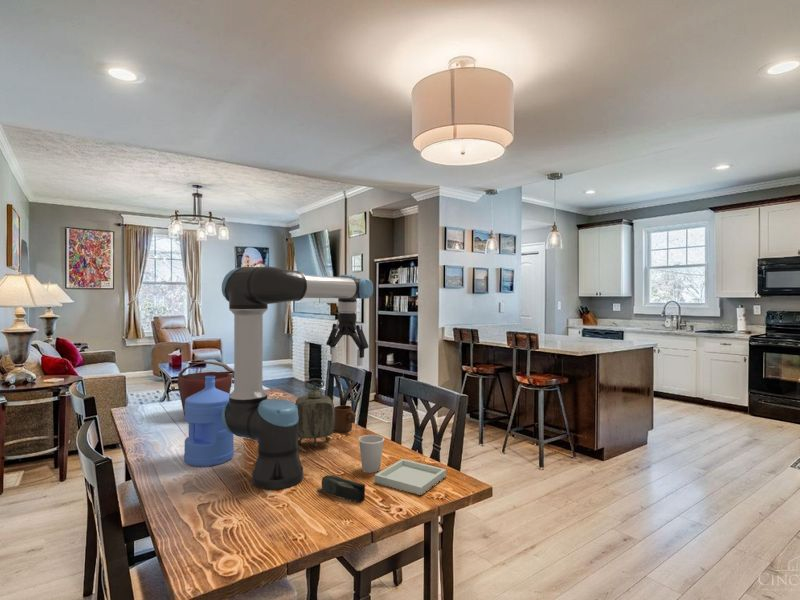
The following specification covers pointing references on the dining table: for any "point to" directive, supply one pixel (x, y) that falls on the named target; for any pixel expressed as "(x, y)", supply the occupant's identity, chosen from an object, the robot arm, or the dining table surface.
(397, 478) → the tray
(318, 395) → the tabletop clock
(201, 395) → the water jug
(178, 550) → the dining table surface
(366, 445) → the dixie cup
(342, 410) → the mug
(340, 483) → the dark green rounded block
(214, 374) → the bucket
